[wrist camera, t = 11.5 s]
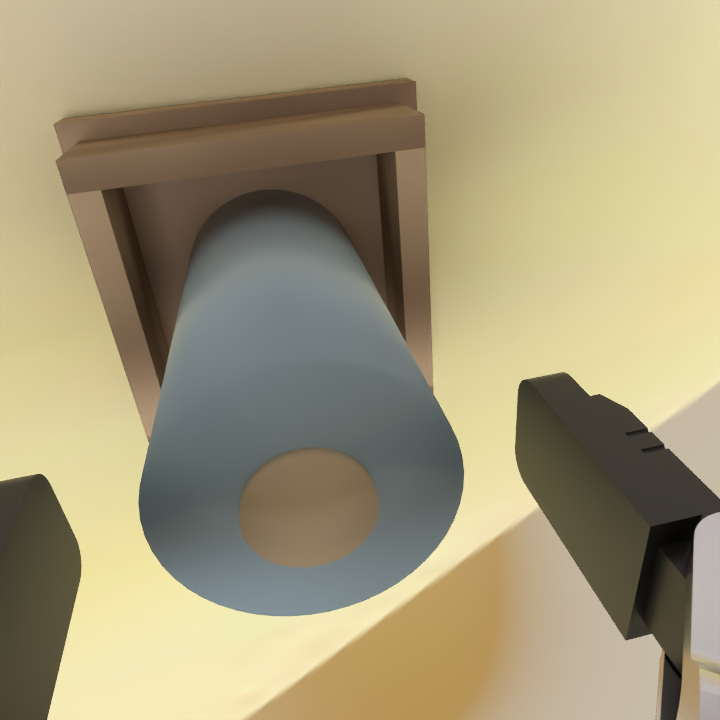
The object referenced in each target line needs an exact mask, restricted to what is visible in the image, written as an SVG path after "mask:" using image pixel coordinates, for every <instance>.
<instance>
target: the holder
mask: <svg viewBox="0 0 720 720" xmlns="http://www.w3.org/2000/svg"><path fill="white" fill-rule="evenodd" d="M54 127H55V130H56V133H57V137H58V140H59V143H60V146H61V149H62V152H63V155H62V156H61V157H60V158H58V159H57V160H56V163H57V166H58V169H59V173H60V176H61V179H62V182H63V185H64V188H65V191H66V194H67V197H68V200H69V203H70V206H71V209H72V212H73V215H74V218H75V221H76V224H77V227H78V230H79V233H80V236H81V239H82V242H83V245H84V248H85V251H86V254H87V257H88V260H89V263H90V266H91V269H92V272H93V275H94V278H95V281H96V284H97V287H98V290H99V293H100V296H101V299H102V302H103V305H104V308H105V311H106V314H107V318H108V321H109V324H110V327H111V330H112V333H113V336H114V339H115V342H116V345H117V348H118V351H119V354H120V357H121V360H122V363H123V366H124V369H125V372H126V375H127V378H128V381H129V384H130V387H131V390H132V393H133V396H134V399H135V402H136V405H137V408H138V411H139V414H140V417H141V420H142V423H143V426H144V429H145V432H146V435H147V438H148V441H149V442H150V437H151V433H152V428H153V424H154V419H155V415H156V410H157V406H158V401H159V397H160V392H161V388H162V383H163V379H164V374H165V370H166V365H167V361H168V356H169V352H170V347H171V343H172V338H173V334H174V329H175V325H176V320H177V315H178V311H179V306H180V302H181V297H182V293H183V288H184V284H185V279H186V275H187V270H188V266H189V261H190V257H191V253H192V249H193V244H194V242H195V239H196V237H197V235H198V233H199V231H200V229H201V228H202V226H203V224H204V223H205V222H206V221H207V219H208V218H209V217H210V216H211V215H212V214H213V213H214V212H215V211H216V210H217V209H218V208H220V207H221V206H222V205H224V204H225V203H227V202H228V201H230V200H232V199H234V198H236V197H238V196H241V195H243V194H246V193H250V192H254V191H259V190H270V189H272V190H285V191H290V192H295V193H298V194H301V195H304V196H306V197H308V198H310V199H313V200H315V201H316V202H318V203H319V204H321V205H322V206H324V207H325V208H326V209H327V210H328V211H330V212H331V213H332V214H333V215H334V216H335V217H336V219H337V220H338V221H339V222H340V224H341V225H342V227H343V228H344V229H345V231H346V233H347V235H348V237H349V239H350V240H351V242H352V244H353V246H354V248H355V250H356V252H357V253H358V255H359V257H360V259H361V261H362V263H363V264H364V266H365V268H366V270H367V272H368V274H369V276H370V277H371V279H372V281H373V283H374V285H375V287H376V289H377V290H378V292H379V294H380V296H381V298H382V300H383V301H384V303H385V305H386V307H387V309H388V311H389V313H390V314H391V316H392V318H393V320H394V322H395V324H396V326H397V327H398V329H399V331H400V333H401V335H402V337H403V339H404V340H405V342H406V344H407V346H408V348H409V350H410V351H411V353H412V355H413V357H414V359H415V361H416V363H417V364H418V366H419V368H420V370H421V372H422V374H423V376H424V377H425V379H426V381H427V383H428V385H429V387H430V388H431V390H432V392H433V368H432V337H431V306H430V275H429V244H428V213H427V182H426V151H425V121H424V114H422V113H420V112H418V111H417V103H416V81H413V80H410V79H407V78H406V79H398V80H389V81H381V82H372V83H364V84H355V85H347V86H338V87H330V88H321V89H312V90H304V91H295V92H287V93H278V94H270V95H261V96H253V97H244V98H236V99H227V100H219V101H210V102H202V103H193V104H185V105H176V106H168V107H159V108H151V109H142V110H134V111H125V112H117V113H108V114H100V115H91V116H83V117H74V118H66V119H61V120H60V121H58V122H57V123H55V124H54Z"/></svg>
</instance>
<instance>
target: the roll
mask: <svg viewBox="0 0 720 720" xmlns="http://www.w3.org/2000/svg"><path fill="white" fill-rule="evenodd" d="M463 480H464V468H463V460H462V454H461V450H460V447H459V444H458V440H457V438H456V436H455V434H454V432H453V430H452V428H451V426H450V424H449V422H448V420H447V418H446V416H445V414H444V413H443V411H442V409H441V407H440V405H439V403H438V401H437V400H436V398H435V396H434V394H433V392H432V390H431V388H430V387H429V385H428V383H427V381H426V379H425V377H424V376H423V374H422V372H421V370H420V368H419V366H418V364H417V363H416V361H415V359H414V357H413V355H412V353H411V351H410V350H409V348H408V346H407V344H406V342H405V340H404V339H403V337H402V335H401V333H400V331H399V329H398V327H397V326H396V324H395V322H394V320H393V318H392V316H391V314H390V313H389V311H388V309H387V307H386V305H385V303H384V301H383V300H382V298H381V296H380V294H379V292H378V290H377V289H376V287H375V285H374V283H373V281H372V279H371V277H370V276H369V274H368V272H367V270H366V268H365V266H364V264H363V263H362V261H361V259H360V257H359V255H358V253H357V252H356V250H355V248H354V246H353V244H352V242H351V240H350V239H349V237H348V235H347V233H346V231H345V229H344V228H343V227H342V225H341V224H340V222H339V221H338V220H337V219H336V217H335V216H334V215H333V214H332V213H331V212H330V211H328V210H327V209H326V208H325V207H324V206H322V205H321V204H319V203H318V202H316V201H315V200H313V199H310V198H308V197H306V196H304V195H301V194H298V193H295V192H290V191H285V190H272V189H270V190H259V191H254V192H250V193H246V194H243V195H241V196H238V197H236V198H234V199H232V200H230V201H228V202H227V203H225V204H224V205H222V206H221V207H220V208H218V209H217V210H216V211H215V212H214V213H213V214H212V215H211V216H210V217H209V218H208V219H207V221H206V222H205V223H204V224H203V226H202V228H201V229H200V231H199V233H198V235H197V237H196V239H195V242H194V244H193V249H192V253H191V257H190V261H189V266H188V270H187V275H186V279H185V284H184V288H183V293H182V297H181V302H180V306H179V311H178V315H177V320H176V325H175V329H174V334H173V338H172V343H171V347H170V352H169V356H168V361H167V365H166V370H165V374H164V379H163V383H162V388H161V392H160V397H159V401H158V406H157V410H156V415H155V419H154V424H153V428H152V433H151V437H150V442H149V446H148V451H147V455H146V460H145V464H144V469H143V473H142V478H141V482H140V491H139V512H140V521H141V524H142V528H143V531H144V535H145V537H146V540H147V542H148V544H149V546H150V548H151V550H152V552H153V553H154V555H155V556H156V558H157V559H158V560H159V562H160V563H161V565H162V566H163V567H164V568H165V569H166V570H167V571H168V572H169V573H170V574H171V575H172V576H173V577H174V578H175V579H176V580H177V581H179V582H180V583H181V584H182V585H184V586H185V587H186V588H187V589H189V590H191V591H192V592H194V593H196V594H198V595H199V596H201V597H203V598H205V599H207V600H209V601H212V602H214V603H216V604H218V605H221V606H224V607H228V608H231V609H234V610H237V611H242V612H247V613H252V614H259V615H269V616H300V615H311V614H317V613H323V612H329V611H333V610H336V609H340V608H344V607H348V606H350V605H353V604H356V603H359V602H361V601H364V600H367V599H369V598H371V597H373V596H375V595H377V594H379V593H381V592H383V591H385V590H387V589H388V588H390V587H392V586H393V585H395V584H397V583H398V582H400V581H401V580H402V579H404V578H405V577H407V576H408V575H409V574H411V573H412V572H413V571H414V570H415V569H417V568H418V567H419V566H420V565H421V564H422V563H423V562H424V561H425V560H426V559H427V558H428V557H429V556H430V555H431V554H432V552H433V551H434V550H435V549H436V548H437V547H438V545H439V544H440V542H441V541H442V540H443V538H444V537H445V535H446V534H447V532H448V530H449V528H450V526H451V524H452V522H453V521H454V519H455V516H456V513H457V510H458V508H459V505H460V501H461V496H462V491H463Z"/></svg>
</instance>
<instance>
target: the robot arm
mask: <svg viewBox="0 0 720 720" xmlns="http://www.w3.org/2000/svg"><path fill="white" fill-rule="evenodd" d="M515 454H516V461H517V465H518V469H519V472H520V474H521V477H522V479H523V481H524V483H525V485H526V486H527V488H528V489H529V491H530V492H531V494H532V496H533V497H534V499H535V500H536V502H537V503H538V505H539V506H540V508H541V509H542V511H543V513H544V514H545V516H546V517H547V519H548V520H549V522H550V524H551V525H552V527H553V528H554V530H555V531H556V533H557V534H558V536H559V537H560V539H561V541H562V542H563V544H564V545H565V547H566V548H567V550H568V551H569V553H570V555H571V556H572V558H573V559H574V561H575V562H576V564H577V566H578V567H579V569H580V570H581V572H582V573H583V575H584V576H585V578H586V579H587V581H588V583H589V584H590V586H591V587H592V589H593V590H594V592H595V593H596V595H597V597H598V598H599V600H600V601H601V603H602V604H603V606H604V607H605V609H606V610H607V612H608V614H609V615H610V617H611V618H612V620H613V621H614V623H615V624H616V626H617V628H618V629H619V631H620V632H621V634H622V635H623V637H624V638H625V640H629V639H633V638H637V637H641V636H645V635H648V634H653V635H654V637H655V638H656V640H657V641H658V643H659V644H660V646H661V647H662V648H663V650H662V654H661V658H660V666H659V680H658V694H657V707H656V720H720V499H719V498H718V497H717V496H716V495H715V494H714V493H713V492H712V491H711V490H710V489H709V488H708V487H707V486H706V485H705V484H704V483H703V482H702V481H701V480H700V479H699V478H698V477H697V476H696V475H695V474H694V473H693V472H692V471H691V470H690V469H689V468H687V466H685V464H684V463H683V462H682V461H680V459H678V457H676V456H675V455H674V454H673V453H672V452H671V451H670V450H669V449H665V447H664V444H663V443H662V442H661V441H660V440H659V439H658V438H657V437H656V436H655V435H654V434H653V433H652V432H648V428H647V427H646V426H645V425H644V424H643V423H642V422H641V421H640V420H639V419H638V418H637V417H636V416H635V415H634V414H633V413H632V412H631V411H630V410H629V409H627V408H626V407H624V406H622V405H620V404H618V403H616V402H614V401H612V400H610V399H608V398H606V397H604V396H602V395H600V394H598V395H593V396H589V395H588V394H587V393H586V392H585V391H584V390H583V389H582V388H581V387H580V386H579V384H578V383H577V382H576V381H575V380H574V379H573V378H572V377H571V376H570V375H569V374H567V373H564V372H562V373H557V374H552V375H547V376H541V377H536V378H531V379H526V380H523V381H521V383H520V385H519V389H518V403H517V423H516V442H515ZM80 577H81V556H80V550H79V546H78V542H77V540H76V537H75V535H74V533H73V531H72V529H71V527H70V525H69V523H68V521H67V519H66V516H65V514H64V512H63V510H62V508H61V506H60V504H59V502H58V500H57V498H56V495H55V493H54V491H53V489H52V487H51V485H50V483H49V481H48V480H47V478H46V477H45V476H43V475H42V474H36V475H30V476H25V477H20V478H15V479H10V480H5V481H0V720H47V717H48V713H49V709H50V704H51V700H52V696H53V692H54V688H55V683H56V679H57V675H58V671H59V666H60V662H61V658H62V654H63V650H64V645H65V641H66V637H67V633H68V629H69V624H70V620H71V616H72V612H73V607H74V603H75V599H76V595H77V591H78V586H79V582H80Z"/></svg>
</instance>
